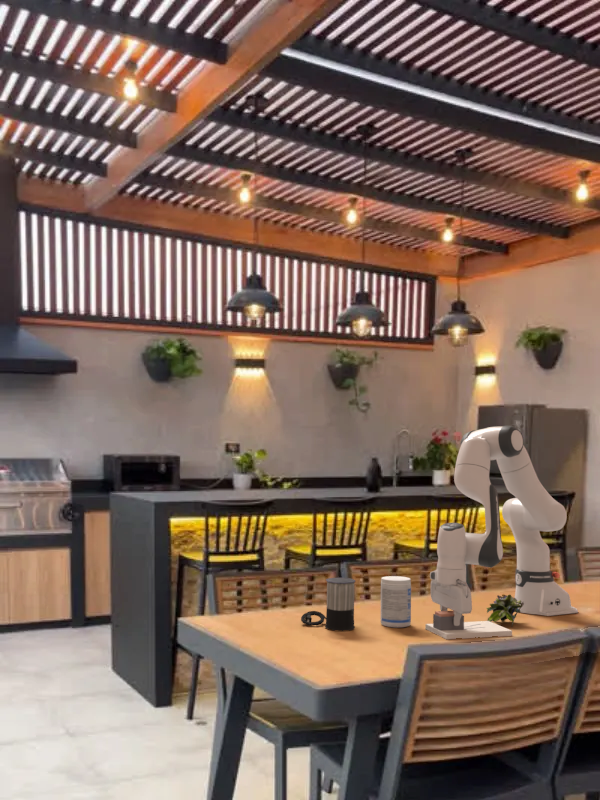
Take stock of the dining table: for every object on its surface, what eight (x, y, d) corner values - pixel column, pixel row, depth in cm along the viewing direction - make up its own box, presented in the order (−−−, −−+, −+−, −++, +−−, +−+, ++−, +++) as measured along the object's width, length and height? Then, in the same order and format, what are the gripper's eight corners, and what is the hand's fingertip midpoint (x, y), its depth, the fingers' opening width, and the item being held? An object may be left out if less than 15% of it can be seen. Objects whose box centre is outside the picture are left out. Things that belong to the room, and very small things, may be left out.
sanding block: (456, 626, 258) (456, 610, 258) (463, 629, 254) (464, 613, 254) (433, 627, 256) (433, 611, 256) (440, 630, 251) (440, 614, 252)
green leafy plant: (502, 638, 273) (518, 606, 277) (520, 639, 263) (536, 606, 267) (475, 619, 272) (491, 587, 276) (492, 619, 262) (508, 586, 266)
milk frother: (357, 631, 255) (358, 582, 255) (306, 632, 252) (307, 582, 253) (347, 621, 269) (348, 574, 269) (299, 622, 266) (300, 574, 267)
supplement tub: (415, 628, 261) (415, 580, 262) (386, 628, 259) (386, 580, 259) (404, 621, 270) (405, 575, 271) (376, 622, 268) (377, 575, 269)
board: (488, 625, 267) (488, 620, 267) (512, 635, 253) (512, 630, 253) (425, 628, 260) (425, 623, 260) (446, 639, 247) (446, 634, 247)
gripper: (477, 582, 247) (477, 630, 246) (445, 571, 266) (444, 615, 265) (458, 583, 245) (457, 631, 244) (427, 572, 264) (426, 616, 264)
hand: (450, 622), depth 255 cm, fingers open, 5 cm apart
